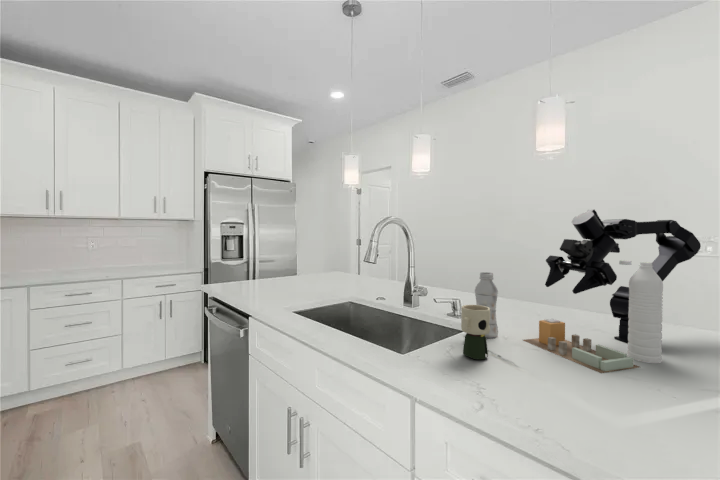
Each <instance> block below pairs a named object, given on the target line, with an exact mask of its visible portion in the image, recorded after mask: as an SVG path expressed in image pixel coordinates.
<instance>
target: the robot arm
mask: <svg viewBox="0 0 720 480" xmlns="http://www.w3.org/2000/svg"><path fill="white" fill-rule="evenodd" d="M571 224H572V225H573V226H574V228H575V230H576V231H577V233H578V234H579V235H580V237H581V238H582V239H583V240H578V239H572V238H571V239H569V238H564V239H563V241H562V243H561V245H560V247H559V250H560V251H562V252H564V253H565V254H566V255H567V256H566V258H567V259H568V261H566V260H565V259H564V257H563V256H561V255H560V256H558V255H549V256H547V258H546V259H545V262H546V264H547V265H548V267H549V272H548V276H547V278H546V281H545V284H544V285H545V287H547V288H549V287H551V286H553V285H554V284H556V283H558V282H559V281H561V280H563V279H565V277H566V275H568V274H569V273H570V271H573V272H577V273H580V274H584V276H582V277H581V279H580V280H579V281H578V282H577V284H576V285H575V286H574V288H573V289H572V293H573V294H574V295H577V294H580V293H582V292H585V291H589V290H592V289H595V288H598V287H601V286H604V287H605V286H607V285H610V286H612V285H613V284H614V283H615V282H616V281H617V279H618V276H617V274H616V272H615V271H614V269H613V267H612V266H611V265H610V263H609V262H606V261H605V258H606V257H607V255H609V254H610V253H613V254H614V253H616V254H617V253H618V254H619V253H620V252H621V251H620V249H621V248H620V247H619V245H620V244H619V242H616V241H615V240H628V239H629V240H630V239H633V238H635V237H637V236H639V235H652V234H653V235H654V234H655V242H656V243H657V244H658V247H657V248H658V256H657V257H656V258H655V259H654V260H653V261H652V262H651V263H652V266H653V267H652V268H653V270H654V271H655V272H656V274H657V275H658V276H659V277H660V279H661V280H662V282H663V283H664V280H666V279H667V277H668V276H669V275H670V274H671V272H672V271H674V269H675V268H676V266H677V265H679V264H681V263H684V262H686V261H690V260H691V259H692V258H693V257H694V256H696V255H697V254H698V253H699V252H700V251H701V247H702V246H701V241H699V239H698V238H697V237H696V235H695V234H694V233H693V232H692V231H690V230H688V229H686V228H684V226H683V227H682V226H681V225H680V224H679V223H678V221H677V220H674V219H657V220H653V221H652V220H651V221H636V220H633V219H628V218H619V219H603V220H602V219H601V218H600V216H599V215H598V213H597V210H596V209H587V210H586V211H585V212H582V213H580V214H578V215H577V216H574V217H573V218H572V219H571ZM666 234H671V235H668V236H667V235H666ZM611 296H612V297H611V298H610V300H609V306H610V311H611V313H612V317H613V318H617V319H619V325H618V335H617V336H614V337H613V338H614V339H615V340H618V341H621V342H625V343H628V342H629V341H628V333H629V332H628V328H629V326H628V320H629V318H628V312H629V286H624V285H620V286H619V287H618V288H617V290H616V291H615V292H614V293H612V294H611Z"/></svg>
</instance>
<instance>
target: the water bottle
mask: <svg viewBox="0 0 720 480" xmlns="http://www.w3.org/2000/svg"><path fill="white" fill-rule="evenodd" d="M618 264H619V265H622V266H624V265H625V266H631V265H632V260H625V259H624V260H622V259H621V260H619V263H618ZM638 266H639V268H638V269H637V270H636V271H635V272H634V273H633V275H632V276H631V277H630V278H629V281H628V287H629V312H628V318H629V320H628V326H629V328H628V332H629V333H628V341H629V342H627V357H631V358H633V361H634V360H635V361H638V362H643V363H647V364H648V363H649V364H660V363H662V361H663V359H662V352H663V351H662V346H663V343H662V342H663V340H662V339H663V333H662V331H663V302H664V299H663V296H664V294H663V291H664V281H663V282H662V280H661V279H660V277H659V276H658V275H657V274H656V272H655V271H654V270H653V268H652V267H653V266H652V262H647V261H646V262H645V261H640V262H639V265H638Z"/></svg>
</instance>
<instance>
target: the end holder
mask: <svg viewBox="0 0 720 480" xmlns="http://www.w3.org/2000/svg"><path fill="white" fill-rule="evenodd" d="M595 351H596V355H594V354H591V353H589V352H586V351H583V350H581V349H578V348H572V358H574V359H576V360H578V361H581V362H583V363H586V364H588V365H591V366H593V367H595V368H598V369H600V368H601V370H603V371H610V370H617V369H624V368H630V367H633V364H634V359H633V358H631V357H628V353H624V352H621V351H619V350H616V349H613V348H610V347H608V346H604V345H601V344H595ZM597 355H598V356H597ZM599 356H600V357H599ZM602 357H603V358H606V359H609V360H604V361H602Z"/></svg>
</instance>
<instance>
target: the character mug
mask: <svg viewBox="0 0 720 480" xmlns="http://www.w3.org/2000/svg"><path fill="white" fill-rule="evenodd" d="M460 311H461V313H460V314H461V315H460V316H461V318H460V319H461V323H460V325H461V331H462V332H464V333H465V336H464V340H463V347H462V355H464V356H466V357H468V358H471V359H474V360H485V359H486V358H489V353H488V351H489V350H488V344H487V343H488V342H487V338H486V337H485V334H489V332H490V326H489V321H490V308H489V307H486V306H482V305H477V304H465V305H462V306H461V309H460Z"/></svg>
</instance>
